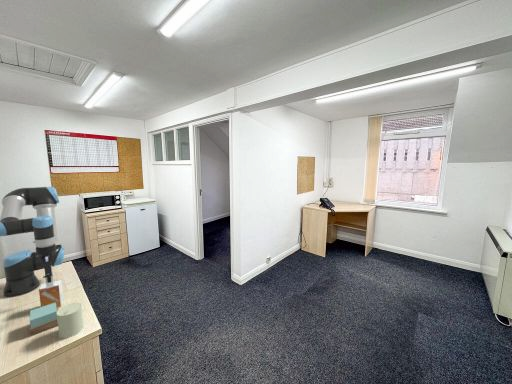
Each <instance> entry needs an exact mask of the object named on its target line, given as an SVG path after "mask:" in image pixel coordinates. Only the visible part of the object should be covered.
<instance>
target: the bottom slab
mask: <svg viewBox="0 0 512 384" xmlns="http://www.w3.org/2000/svg"><path fill="white" fill-rule="evenodd" d="M58 310H59V308H57V311H58ZM56 327H57V328H58V321H57V319H55V320H52V321H50V322H47V323H44V324H42V325H39V326H36V327H33V328H31V327H30V326H29V336H30V338H31V337H33V336H35V335H36V336H37V335H39V334H41V333H44V332H47V331H50V330H51V329H54V328H56Z"/></svg>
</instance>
